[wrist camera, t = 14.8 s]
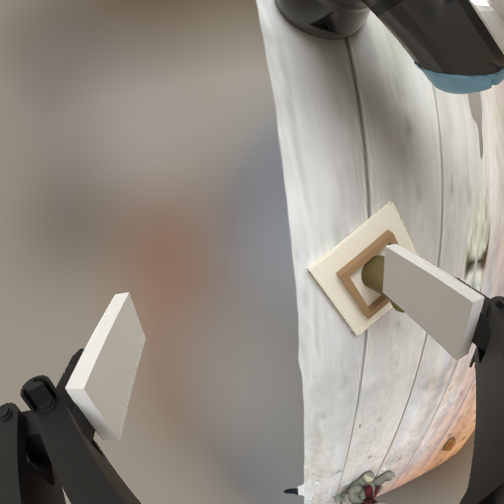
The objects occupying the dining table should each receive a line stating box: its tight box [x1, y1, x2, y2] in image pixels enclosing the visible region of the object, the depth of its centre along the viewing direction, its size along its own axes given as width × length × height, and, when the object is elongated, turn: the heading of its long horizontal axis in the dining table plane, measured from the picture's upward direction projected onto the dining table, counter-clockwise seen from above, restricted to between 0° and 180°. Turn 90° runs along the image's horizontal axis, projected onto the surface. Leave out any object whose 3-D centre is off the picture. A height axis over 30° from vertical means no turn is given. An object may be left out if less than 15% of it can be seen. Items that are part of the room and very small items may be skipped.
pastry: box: [443, 437, 456, 451], centre depth 87 cm, size 9×7×4 cm
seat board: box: [308, 201, 417, 336], centre depth 46 cm, size 18×18×4 cm
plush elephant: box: [333, 471, 395, 504], centre depth 73 cm, size 27×22×21 cm
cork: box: [361, 255, 404, 312], centre depth 41 cm, size 6×6×11 cm
